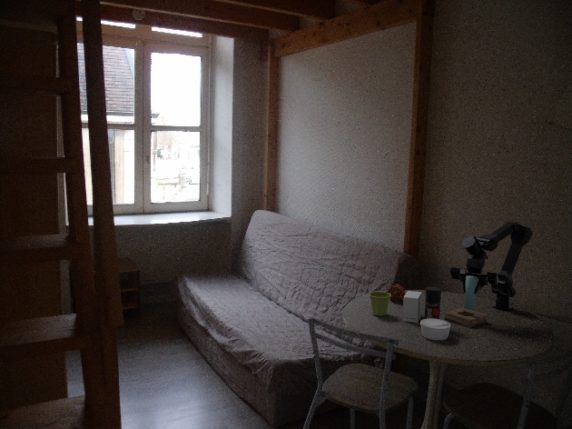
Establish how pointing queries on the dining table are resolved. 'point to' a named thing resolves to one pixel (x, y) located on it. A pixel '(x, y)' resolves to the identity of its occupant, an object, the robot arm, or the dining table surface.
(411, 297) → the skincare box
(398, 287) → the dragon fruit
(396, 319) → the dining table surface
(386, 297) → the plant pot
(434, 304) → the deodorant
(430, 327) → the ramekin
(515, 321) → the dining table surface
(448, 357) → the dining table surface
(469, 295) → the peg
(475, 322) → the socket block
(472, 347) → the dining table surface
